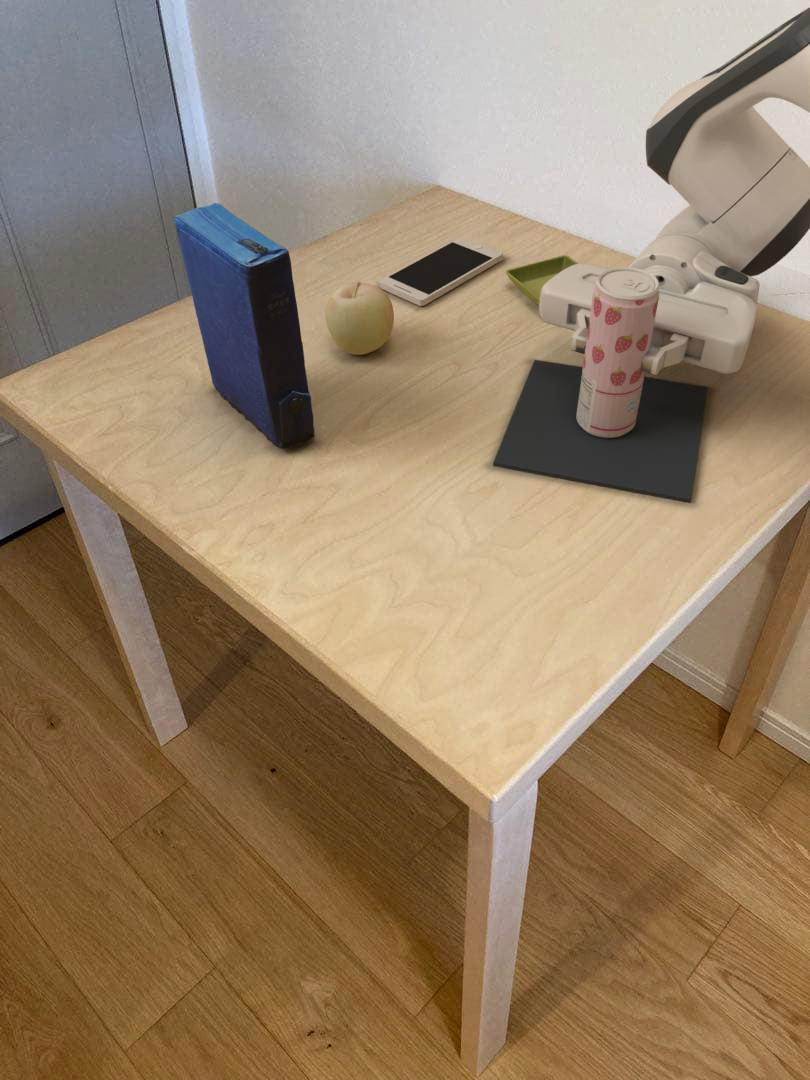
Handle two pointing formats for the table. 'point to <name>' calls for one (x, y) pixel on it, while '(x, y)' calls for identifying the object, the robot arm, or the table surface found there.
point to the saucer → (538, 275)
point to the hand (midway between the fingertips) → (613, 356)
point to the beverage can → (616, 350)
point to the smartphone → (440, 271)
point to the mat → (620, 462)
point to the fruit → (359, 317)
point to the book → (248, 321)
